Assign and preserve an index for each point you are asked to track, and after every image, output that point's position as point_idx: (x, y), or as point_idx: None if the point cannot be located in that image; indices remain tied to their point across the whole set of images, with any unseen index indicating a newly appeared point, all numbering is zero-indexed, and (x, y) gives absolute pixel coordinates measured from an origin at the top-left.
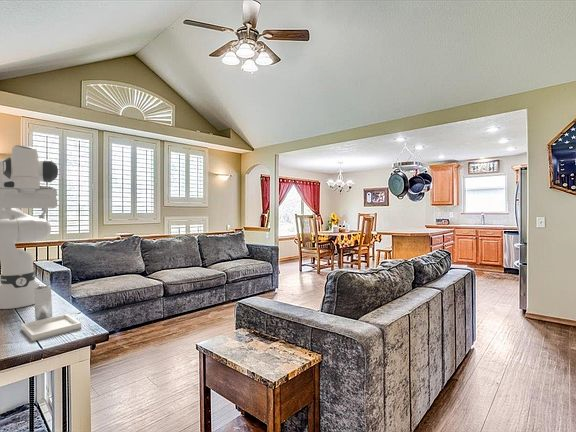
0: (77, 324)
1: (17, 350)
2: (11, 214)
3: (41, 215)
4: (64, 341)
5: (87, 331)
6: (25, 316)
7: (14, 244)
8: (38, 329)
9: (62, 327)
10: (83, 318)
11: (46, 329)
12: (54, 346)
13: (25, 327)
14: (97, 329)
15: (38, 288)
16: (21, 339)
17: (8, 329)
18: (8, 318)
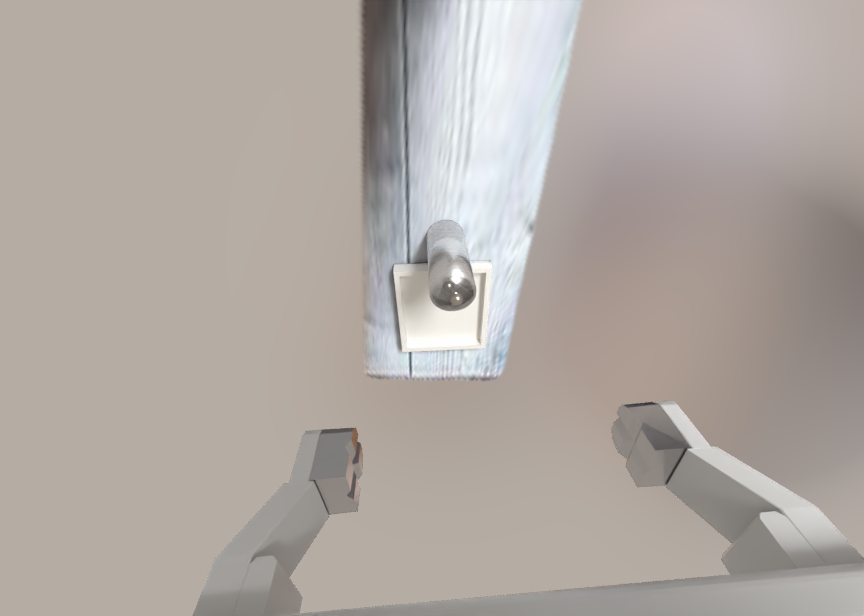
0: (478, 347)
1: (379, 360)
2: (318, 525)
3: (648, 478)
4: (442, 371)
5: (485, 355)
6: (417, 128)
7: None
8: (420, 302)
9: (451, 349)
10: (516, 280)
11: (432, 313)
12: (425, 378)
13: (398, 302)
14: (500, 358)
15: (440, 297)
16: (389, 318)
17: (370, 233)
18: (372, 105)
